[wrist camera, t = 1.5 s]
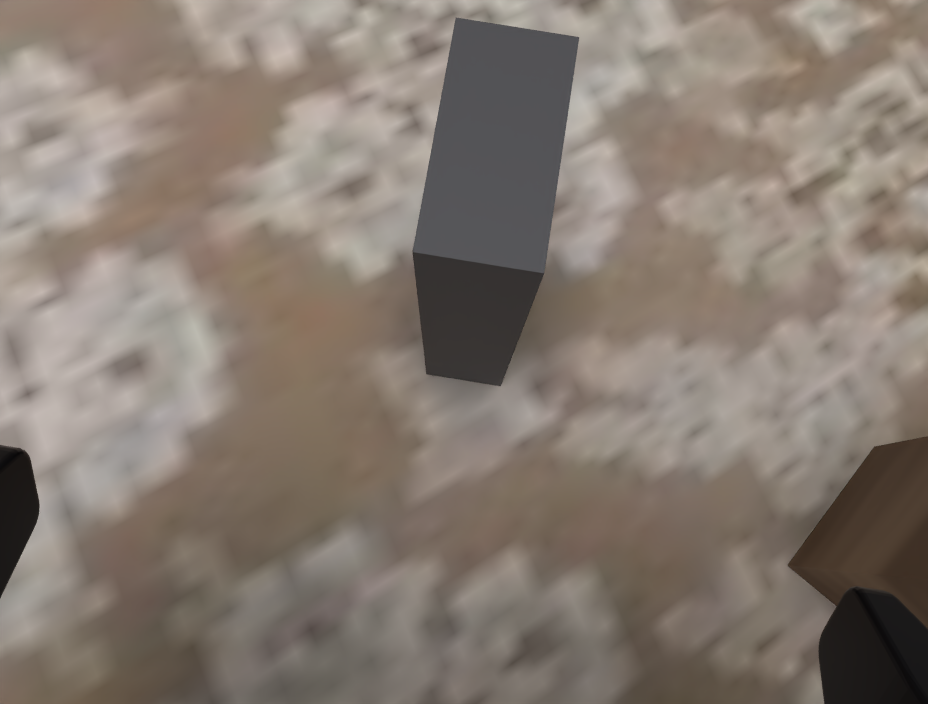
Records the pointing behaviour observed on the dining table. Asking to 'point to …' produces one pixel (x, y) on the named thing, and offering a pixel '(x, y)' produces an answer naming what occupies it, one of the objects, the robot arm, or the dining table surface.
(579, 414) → the dining table surface
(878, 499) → the domino
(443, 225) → the dark gray rectangular block
